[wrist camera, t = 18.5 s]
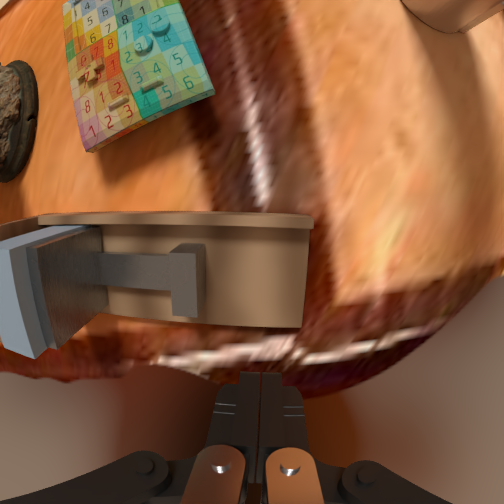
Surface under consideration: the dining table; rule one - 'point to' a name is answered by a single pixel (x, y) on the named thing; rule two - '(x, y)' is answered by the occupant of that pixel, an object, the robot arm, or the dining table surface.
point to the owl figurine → (16, 117)
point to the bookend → (106, 279)
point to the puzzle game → (129, 65)
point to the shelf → (216, 261)
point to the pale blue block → (23, 291)
